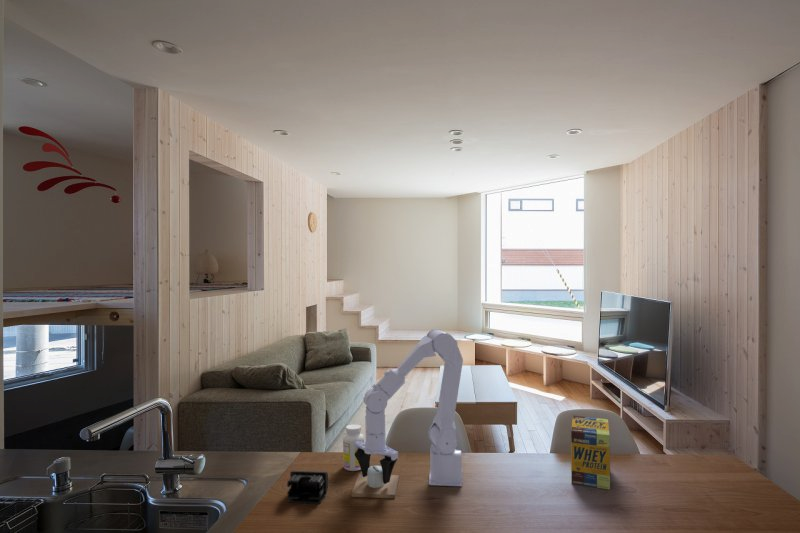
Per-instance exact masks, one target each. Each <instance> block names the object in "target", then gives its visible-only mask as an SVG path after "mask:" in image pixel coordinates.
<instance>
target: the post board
mask: <svg viewBox="0 0 800 533" xmlns="http://www.w3.org/2000/svg"><path fill="white" fill-rule="evenodd" d="M399 481H400V475H398V474H397V475H396V474H391V477H390V482H388V483H386V484H384V485H383V486H382V487H378V488H373V487H369V485H368V479H367V476H366V477H363V475H362V473H359V474H358V476H357V479H356V481H355V483H354V486H353V488H352V491H351V494H350V495H351V497H352V498H374V499H375V498H376V499H395V498H396V494H397V490H398V485H399Z"/></svg>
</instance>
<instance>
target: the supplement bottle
mask: <svg viewBox="0 0 800 533" xmlns="http://www.w3.org/2000/svg"><path fill="white" fill-rule="evenodd" d="M345 431H346V432H345V433H346V434H344V436H343V437H342V450H343V452H342V453H343V454H342V455H343V456H342V458H343V459H342V461H343V468H344V470H346V471H347V472H349V471H350V472H356V471H361V468H360V465H359V462H358V460H357V458H356V457H355V452H357V451H358V450H356V449H355V442H357V441H362V442H365V437H364V434H363V433H361V431H362V426H361V425H360V424H353V423H352V424H348V425H346V426H345Z"/></svg>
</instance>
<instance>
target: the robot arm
mask: <svg viewBox="0 0 800 533" xmlns="http://www.w3.org/2000/svg"><path fill="white" fill-rule="evenodd" d="M458 345H459V344H458V341H457V339H455V337H453V335H452V334H450V333H447V332H444V331H443V330H441V329H438V328H434V329H431V330H429V331H428V333H427V334H426V335H423V337H421V338H420V341H418V343H417V344H416V345H415V346H414V348H413V349H412V350H411V352H409V353H408V355H407V356H406V357H405V358H404V359H403V361H402V362H401V363H400V364H399V365H398V367H396V368H390V369H389V370H385V371H384V373H383V375H384V376H382V377H381V378H380V380H379V381H378V382H377V383H374V384H372V388H370V389H368V390H366V392H365V394H364V396H363V403H364V404H365V416H364V417H365V421H364V422H365V441H364V442H362V441H357V442H355V449H356V450H358V451H357V452H355V457H356V458H357V460H358V462H359V465H360V468H361V470H360V471H361V474H362V475H363V477H366V476H367V471H368V468H369V467H371V466H370V463H371V455H372V454H373V455H378V456H381V457H384V458H382V459H379V464H380V466H381V467H382V472H383V483H384V484H386V483H388V482H390V477H391V475H392V472H393V470H394V466H395V464H396V463H397V461H398V459H399V451H397V450H394V449H393V448H391V447H389V446H388V445H386V444H387V443H386V414H385V409H386V408H387V406H388V401H389V400H391V399H392V397H393V396H394V395H395V394H396V393H398V391H399V390H400V389H401V388H402V386H404V384H406V383H405V382H406V381H405V380H406V376H407V375H408V374H409V373H410V372H411V371H413V370H414V369H415V367H417V366H418V365H419V364H420V362H422V360H424V359H425V358H430V357H432V358H433V357H436V356H437V355H438V356H439V358H440V359H441V360H442V361H443V362H444V365H443V371H442V378H441V383H440V390H439V391H440V392H439V397H438V405H437V409H436V410H437V411H436V415H435V416H434V417H433V420H432V424H431V425H430V427H429V429H428V430H427V431H428V432H427V433H428V435H427V437H428V439H429V440H430V441H431V445H430V448H429V449H430V454H429V455H430V456H429V457H430V458H429V459H430V471H429V480H428V485H429V486H446V487H447V486H449V487H462V486H463V476H464V471H463V469H462V468H463V467H462V466H463V465H462V462H463V460H462V458H463V457H462V450H460V449H456V448H457V446H458V439H457V437H456V436H457V434H456V431H457V427H456V424H455V414H456V408H457V400H458V395H459V389H460V384H461V383H460V381H461V376H462V371H463V370H462V368H463V363H464V359H463V357H462V354H461V351H460V348H459V346H458ZM436 354H437V355H436Z"/></svg>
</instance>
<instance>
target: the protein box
mask: <svg viewBox="0 0 800 533" xmlns="http://www.w3.org/2000/svg"><path fill="white" fill-rule="evenodd" d="M609 423H610V422H609V419H607V418H598V417H591V416H590V417H589V416H581V415H572V421H571V429H570V464H571V466H570V467H571V468H570V471H571V477H570V478H571V485H572V484H573V485H578V486H584V487H589V488H590V487H591V488H598V489H602V490H603V489H604V490H611V436H610V435H611V434H610V424H609Z"/></svg>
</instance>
